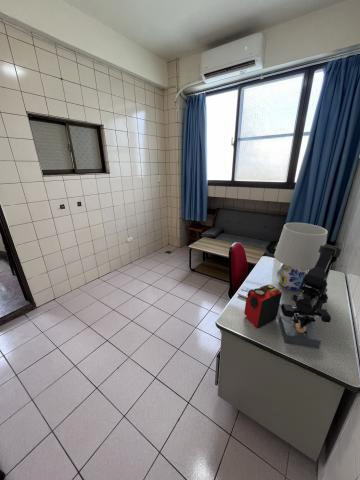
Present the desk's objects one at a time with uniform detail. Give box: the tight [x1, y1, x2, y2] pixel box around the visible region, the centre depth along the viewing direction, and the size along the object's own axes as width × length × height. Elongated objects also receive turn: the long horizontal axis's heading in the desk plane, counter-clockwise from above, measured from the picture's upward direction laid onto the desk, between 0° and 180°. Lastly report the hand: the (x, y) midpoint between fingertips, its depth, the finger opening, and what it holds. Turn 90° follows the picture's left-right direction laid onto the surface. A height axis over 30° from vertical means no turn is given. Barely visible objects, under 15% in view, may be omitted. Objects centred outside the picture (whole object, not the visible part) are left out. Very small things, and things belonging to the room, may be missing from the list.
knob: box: [295, 323, 306, 333], centre depth 95 cm, size 4×4×6 cm
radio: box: [243, 284, 283, 330], centre depth 103 cm, size 16×10×20 cm, turn 118°
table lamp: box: [273, 222, 328, 292], centre depth 128 cm, size 27×27×40 cm
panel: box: [276, 303, 322, 350], centre depth 100 cm, size 14×22×5 cm, turn 168°
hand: (300, 326), depth 94 cm, fingers closed, pressing on knob
